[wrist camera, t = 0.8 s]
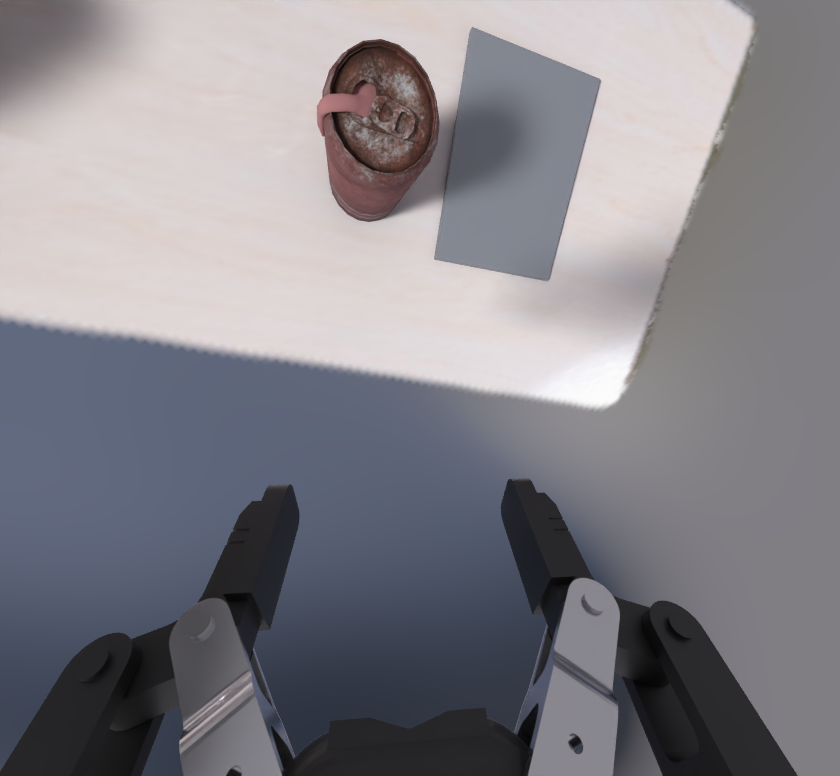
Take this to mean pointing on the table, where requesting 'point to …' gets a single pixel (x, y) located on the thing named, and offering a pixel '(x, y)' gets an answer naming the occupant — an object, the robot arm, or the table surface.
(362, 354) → the table surface
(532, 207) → the mat
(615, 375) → the table surface
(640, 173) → the table surface
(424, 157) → the can
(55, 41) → the table surface
